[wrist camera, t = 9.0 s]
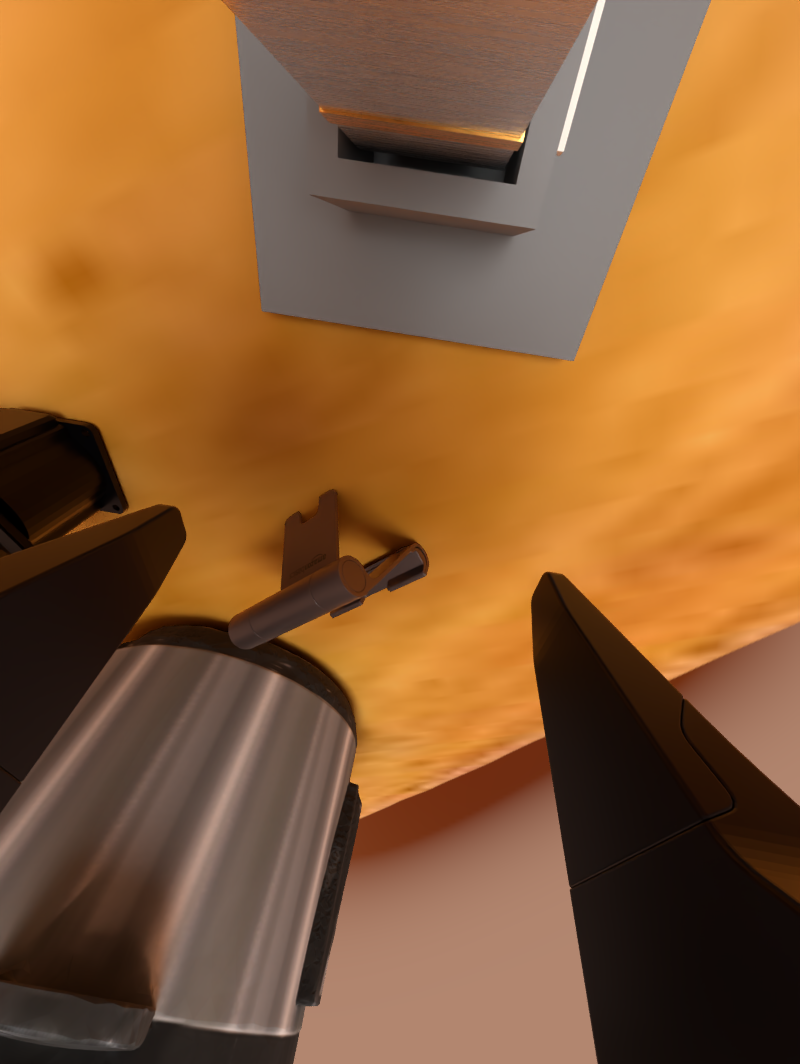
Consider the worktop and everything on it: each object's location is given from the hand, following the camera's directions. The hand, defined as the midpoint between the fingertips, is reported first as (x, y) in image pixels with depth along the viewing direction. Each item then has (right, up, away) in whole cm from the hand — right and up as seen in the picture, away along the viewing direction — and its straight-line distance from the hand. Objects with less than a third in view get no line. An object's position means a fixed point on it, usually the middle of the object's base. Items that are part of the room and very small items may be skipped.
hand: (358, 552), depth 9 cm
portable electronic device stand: (-3, 0, +17) cm, 18 cm away
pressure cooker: (-16, -17, +32) cm, 40 cm away
